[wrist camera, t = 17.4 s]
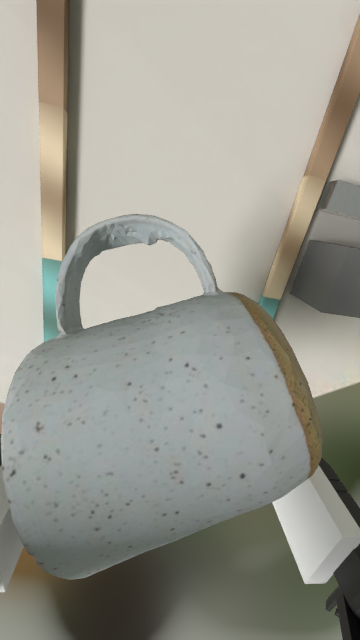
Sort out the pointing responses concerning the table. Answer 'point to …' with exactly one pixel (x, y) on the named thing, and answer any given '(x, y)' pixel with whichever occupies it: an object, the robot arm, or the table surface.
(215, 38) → the table surface
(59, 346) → the ceramic mug
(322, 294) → the block
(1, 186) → the table surface
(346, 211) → the bar
